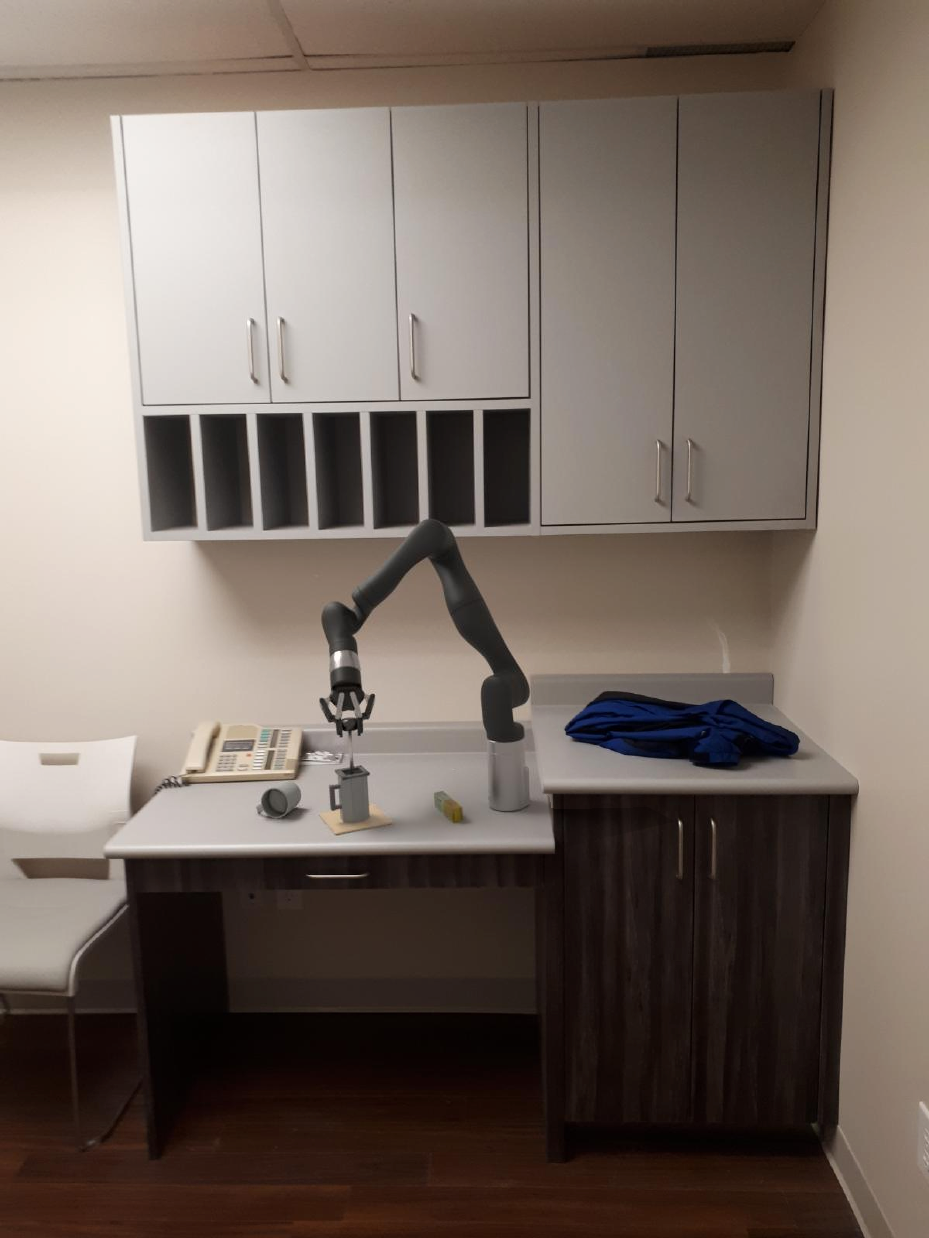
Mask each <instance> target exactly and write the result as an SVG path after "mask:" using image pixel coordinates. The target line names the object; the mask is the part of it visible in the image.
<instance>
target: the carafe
mask: <svg viewBox="0 0 929 1238" xmlns="http://www.w3.org/2000/svg"><path fill="white" fill-rule="evenodd" d="M334 772H335V774H336V775H337V784H328V789H329V790H328V792H329V793H328V794H329V806H330V808H329V809H330V811H326V812H321V813H318V817H320V819H321V818H322V822H324V823H325V826H327V825H328V826H327V827H328V828H329V829H330V831H331V832H332V833H333V834H334V835H335V836H339V835H342V834H346V833H347V832H348V833H352V832H358V831H363V830H367V829H372V828H377V827H382V826H386V825H393V820H391V819H390V818H389V817H388V816H387V815H386V814H385V813H384V812H383V811H382V810H381V809H379V807H378V806H377V805H376V804H375V803H374V802H373V803H370V800H369V783H368V777H369V776H371V772H369V771H368V770H367V769H366V768H365V767H364V766H363V765H361V764H360V765H354V774H352V775H351V774H350V766H349V767H348V766H347V767H344V768H337V769H334ZM336 790H338V799H339V800H338V802H339V803H338V804H336ZM348 833H347V834H348Z"/></svg>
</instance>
